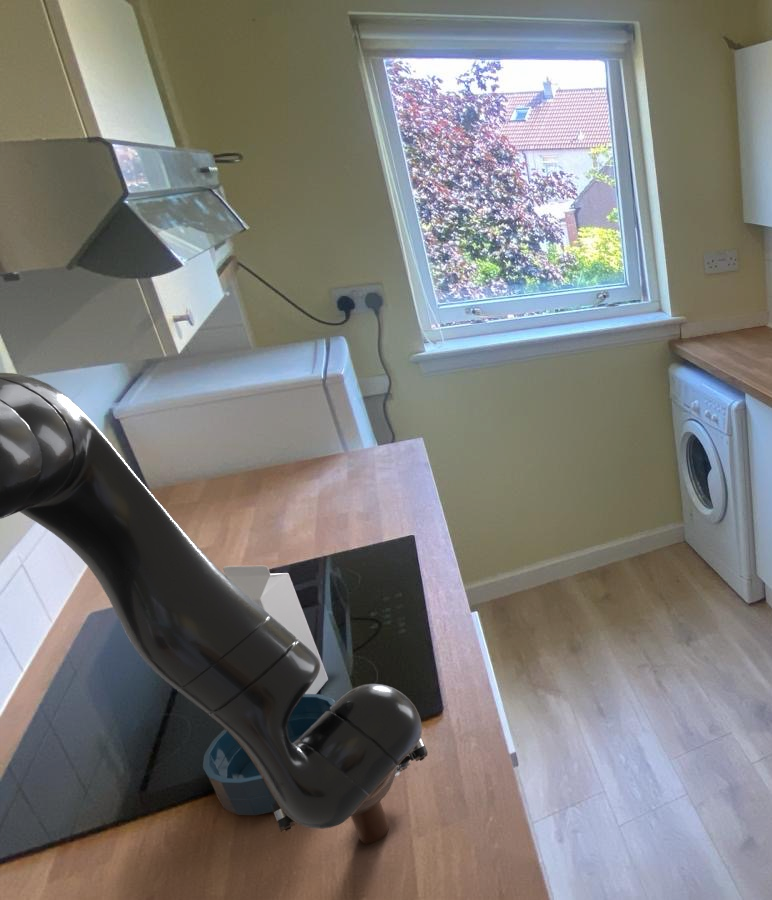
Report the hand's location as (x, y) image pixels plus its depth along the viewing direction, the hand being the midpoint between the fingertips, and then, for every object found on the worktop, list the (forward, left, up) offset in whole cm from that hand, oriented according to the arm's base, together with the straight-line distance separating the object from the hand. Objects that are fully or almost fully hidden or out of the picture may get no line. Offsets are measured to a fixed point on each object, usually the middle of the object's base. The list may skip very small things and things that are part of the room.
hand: (354, 784), depth 83 cm
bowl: (+2, +17, -7) cm, 18 cm away
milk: (+12, +29, -7) cm, 32 cm away
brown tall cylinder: (-1, -1, -7) cm, 7 cm away
